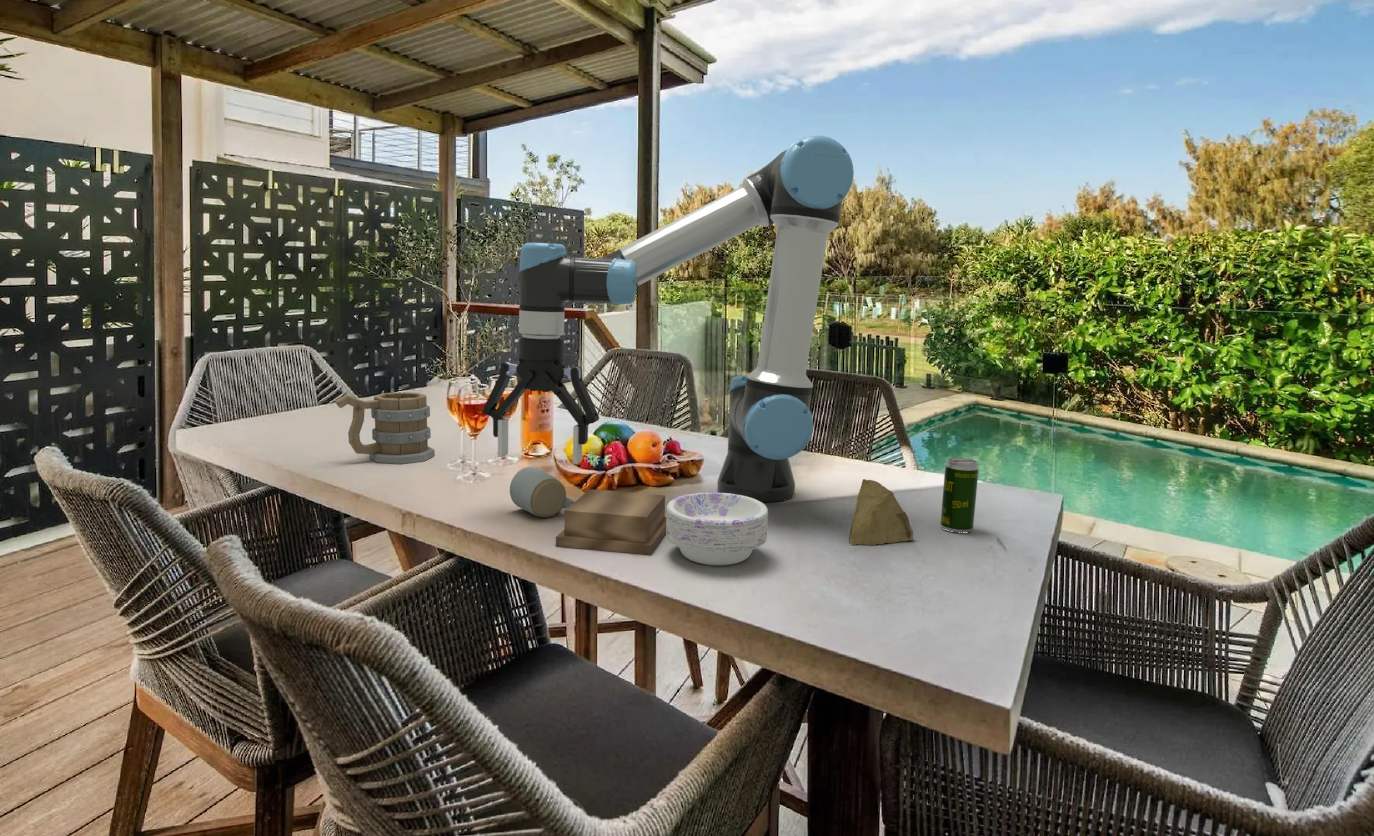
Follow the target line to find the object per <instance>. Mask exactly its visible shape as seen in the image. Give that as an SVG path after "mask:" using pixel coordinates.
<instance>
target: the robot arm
mask: <svg viewBox="0 0 1374 836" xmlns="http://www.w3.org/2000/svg"><path fill="white" fill-rule="evenodd" d="M854 171H855V170H854V164H853V160H852V157H851V156H850V153H849V152H848V151H847V149H846V148H845V147H844V146H843V145H842V144H841V143H840V142H838V141H837V140H836V139H833V138H831V137H829V136H825V135H810V136H805V137H804V136H803V137H802V138H799V139H797V140H795V141H794V142H793V143H792V144H790V145H789V146H788V148H786V149H785V150H783V151H782V152H780V153H779V154H778V155H777V156H776V157H775V158H773V159H772V160H771V161H769V163H768V164H767V165H765V166H763V167H762V168H760V169H759V170H758V171H756V172H754V173H753V174H751V175H748V176H746V177H745V178H743V180H742V183H741V186H740V187H738V188H735V189H734V190H731V191H730V192H728V193H726V194H724V195H722V196H720V197H718V198H716V199H714V200H713V201H710V202H709V203H707V204H704V205H702V206H701V207H698V208H697V209H694V210H693V211H690V212H689V213H687V214H684V215H682V216H681V217H679V218H677V219H675V220H673V221H671V222H669V223H668V224H667V223H666V224H665V225H663V226H661V227H659V228H658V229H656V230H653V231H652V232H649V233H648V234H646V235H644V236H642V237H640V238H638V239H636V240H634V241H632V242H630V243H628V244H627V245H625V246H622V247H621V248H619V249H617V250H614V251H612V252H611V253H608V254H607V255H604V256H602V257H576V256H569V255H567V254H568V253H567V249H566V247H565V245H564V244H561V243H548V242H546V243H545V242H526V243H524V244H523V245H522V247H521V248H520V258H519V269H518V273H519V275H518V280H519V282H518V283H519V289H518V290H519V292H518V293H519V295H518V296H519V302H518V304H519V305H518V307H519V313H518V333H519V334H521V335H522V336H520V337H519V339H518V364H517V363H513V362H511V361H506V362H503V363H501V364H500V367H499V376H498V378H497V380H496V381H495V384H494V386H493V388H492V389H491V392H490V394H489V396H488V398H487V400H486V402H485V404H484V406H483V408H482V411H481V413H482V414H483V415H485V416H488V417H491V418H492V434H493V437H494V438H497V458H504V457H505V456H508V455H509V417H506V414H507V413H508V412H509V410H510V409H511V408H512V407H513V406H514V405H515V404H516V402H517V401H518V400H519V399H520V398H521V397H522V396H523V394H524V393H525V392H527V390H529V392H537V391H538V392H539V391H540V392H543V393H550V392H552V393H553V395H555V396H556V397H557V398H558V399H559V400H560V403H561V404H562V405H563V406H564V407H565V409H566V410H567V411H568V413H569V414H570V415H571V416H572V418H573V420H574V421H575V422H576V423H577V424H576V425H573V431H572V432H573V435H572V436H573V437H572V464H573V465H578V464H579V463H581V462H583V445H584V446H585V444H587V443H588V441H589V425H590V424H594V423H596V422H598V421H599V420H600V415H599V413H598V411H597V409H596V407H595V404H594V402H593V400H592V397H591V395H590V393H589V390H588V389H587V386H586V385H585V381H584V380H583V369H582V367H581V366H575V367H568V368H567V367H565V364H564V360H565V358H564V357H565V356H564V355H565V340H564V338H562V337H561V336H563V335H564V334H565V311H566V310H565V309H566V308H565V303H566V302H567V303H569V302H570V303H587V304H607V305H609V304H610V305H615V306H616V305H619V306H620V305H631V304H633V303H634V302H635V301H636V297H637V287H638V286H641V285H642V284H644V283H646V282H648V281H650V280H653V279H655V278H656V277H659V276H660V275H663V274H664V273H666V272H668V271H671V270H672V269H674V268H676V267H678V266H680V265H682V264H684V263H686V262H688V261H689V260H690V261H691V260H692V259H694V258H696V257H698V256H700V255H701V254H704V253H706V252H707V251H708V252H709V251H710V250H712V249H714V248H715V247H719V245H722V244H724V243H726V242H728V241H729V240H732V239H734V238H735V237H737V236H739V235H742V234H743V233H745V232H748V231H749V230H751V229H753V228H756V227H757V226H761V227H763V228H764V227H765V228H767V227H769V226H772V225H773V224H774V225H775V227H776V233H775V234H776V237H775V242H774V250H773V257H772V263H771V270H770V275H769V276H770V277H769V284H768V290H767V298H766V303H765V311H764V317H763V324H762V331H761V336H760V337H761V338H760V344H759V352H758V359H757V365H756V367H755V368H754V369H753V370H752V371H751V372H750V373H748V374H747V375H736V376H734V377H732V379H731V381H730V388H729V389H728V394H729V409H728V410H729V413H728V434H727V435H728V437H727V438H728V440H727V441H728V442H727V454H726V456H725V459H724V462H723V465H722V467H721V470H720V473H719V476H718V479H717V489H716V490H717V493H730V494H737V495H742V496H746V497H750V498H753V499H756V500H758V501H760V502H762V503H771V502H773V503H774V502H775V503H776V502H781V500H782V501H785V500H784V499H786V500H790V499H791V497H792V496H793V495H794V494H796V482H795V479H794V478H795V477H794V474H793V471H792V467H791V463H790V460H789V459H790V458H793V457H794V456H796V455H797V454H799V453H801V452H802V451H803V450H804V449H805V448H806V446H807V445H808V443H809V442H810V441H811V438H812V436H813V432H814V419H813V415H812V414H813V413H812V412H811V410H810V408H811V407H810V406H811V401H812V392H813V387H814V384H813V382H811V380H810V379H809V377H808V376H807V370H808V364H809V356H810V351H811V350H810V349H811V343H812V337H813V330H814V323H815V318H816V317H815V316H816V311H817V306H818V300H819V292H820V287H821V279H822V273H823V267H824V260H825V255H826V254H825V253H826V248H827V241H828V236H829V234H830V233H831V232H832V231H834V230H836V228H837V227H839V222H840V217H841V212H842V206H843V200H844V199H845V198H846V197H847V195H848V193H849V191H850V189H851V188H852V184H853V182H854V175H855V174H854ZM515 374H517V375H518V377H519V378H520V380H519V382H518V383H517V384H516V385H515V387H514V388H513V390H512V391H511V392H510V393H509V394H508V395H507V396H506V398H504V400H503V401H502V402H501V403H500V404H499V402H500V400H501V398H502V396H503V395H504V392H505V390H507V386H508V384H509V383H510V381H511V378H512V376H514V375H515ZM565 376H567V378H568V380H569V381H570V382H571V385H572V387H573V389H574V391H575V392H574V393H575V394H576V396H577V398H578V401H579V403H580V405H581V407H582V408H581V407H580V405H579V404H578V402H576V400H575V399H574V398H573V396H572V394H571V393H570V392H569V391H568V388H567V387H566V385H565V384H564V382H563V381H562V380H563V379H564V377H565ZM498 404H499V406H498ZM497 406H498V407H497ZM794 496H795V495H794ZM794 496H793V497H794ZM793 497H792V498H793Z"/></svg>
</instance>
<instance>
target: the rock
mask: <svg viewBox="0 0 1374 836" xmlns="http://www.w3.org/2000/svg"><path fill="white" fill-rule="evenodd" d="M850 525H851V526H850V531H849V537H848V543H849V545H850V544H851V545H850V546H857V545H861V546H862V545H865V546H876V544H879V545H885V544H884V543H888V544H892V543H893V544H894V543H900V542H906V541H907V542H908V541H913V540H915V538H914V531H913V529H912V525H911V523H910V520H909V516H908V514H907V513H906V511H904V510H903V508H902V507H901V505H900V503H899V501H898V500H897V499H896V497H895V495H894V493H893V491H891V490H890V489H889V488H887V487H885V486H884V485H883V484H881V483H880V482H878V481H876V480H872V479H865V478H864V479H862V481H861V486H860V489H859V492H858V495H857V500H856V504H855V510H854V513H853V518H852V521H851V524H850ZM856 544H857V545H856Z"/></svg>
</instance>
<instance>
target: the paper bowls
mask: <svg viewBox="0 0 1374 836" xmlns="http://www.w3.org/2000/svg"><path fill="white" fill-rule="evenodd" d="M665 509H666V510H665V515H666V516H665V517H666V518H667V519H666V534H665V536H666V539H667V540H668V541H669V543H671V544H672V545H674V546H676V547H678V548H679V550H680V552H681V554H682V555H683V557H685V558H686V559H688V560H689V561H692V562H694V563H698V564H702V565H707V566H731V565H735V564H738V563H739V564H740V563H741V562H743V561H745V560H747V559H748V558H749V557H750V556H751V554H752V553H753V550H754V549H757V548H759V547H761V546H763V545H765V543H766V541H767V539H768V523H769V509H768V507H767V505H766V504H764V502H760V501H758V500H756V499H753V498H750V497H746V496H742V495H737V494H730V493H719V492H697V493H689V494H685V495H680V496H678V497H675V498H673V499H671V500H670V501H669V502H668V503H667V505H666V506H665Z"/></svg>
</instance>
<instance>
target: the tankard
mask: <svg viewBox="0 0 1374 836" xmlns="http://www.w3.org/2000/svg"><path fill="white" fill-rule="evenodd" d="M335 404H336V406H337V407H338V408H340V409H343V408H344V407H345V406H347V405H349V406H351V407H352V421H351V423H350V426H349V429H348V432H347V434H348V437H347V438H348V443H349V445H350V447H351V448H352V449H353V451H354V452H355V454H357V455H369V459H370V460H372V459H373V461H374V462H376V463H377V462H378V463H377V464H389V465H390V464H391V465H406V464H415V463H423V461H424V462H426V461H428V460H429V458H430V459H431V457H432V458H434V456H435V454H436V453H435V448H433V447H430V446H429V444H428V442H429V439H431V437H432V436H431V435H432V433H431V428H430V427H429V426H428V418H430V417H431V407H430V406H429V405H428V404H427V395H426V394H423V393H420V392H408V391H407V392H406V391H403V392H401V391H400V392H384V393H380V394H377V395H374V396H373V400H363V399H359V398H355V397H353V396H350V395H348V394H344V395H343V396H342V397H340V398H338V399H336V400H335ZM370 409H371V410H370ZM366 410H370V413H371V418H372V419H374V428H372V429H371V434H372V437H371V438H372V439H371V440H373V441H375V442H373V443H369V444H363V443H362V441H361V436H360V434H361V431H362V428H363V425H364V422H365V411H366Z"/></svg>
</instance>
